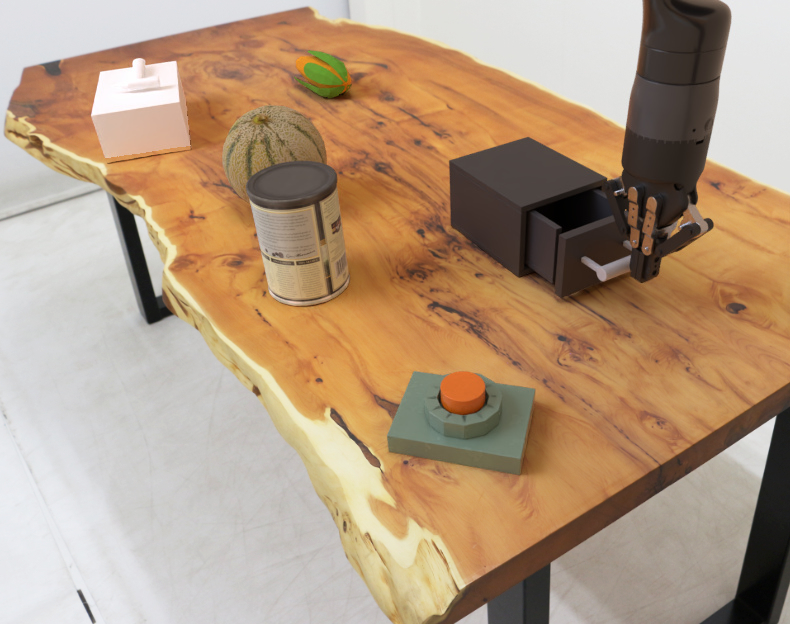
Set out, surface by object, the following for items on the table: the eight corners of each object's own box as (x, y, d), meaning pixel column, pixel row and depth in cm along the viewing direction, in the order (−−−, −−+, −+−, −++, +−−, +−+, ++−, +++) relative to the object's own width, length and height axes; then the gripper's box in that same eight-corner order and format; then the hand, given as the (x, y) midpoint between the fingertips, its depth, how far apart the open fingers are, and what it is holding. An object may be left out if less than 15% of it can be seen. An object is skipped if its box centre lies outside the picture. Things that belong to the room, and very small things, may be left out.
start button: (488, 388, 66) (489, 374, 65) (480, 418, 63) (480, 404, 62) (446, 382, 67) (446, 368, 66) (436, 411, 64) (435, 397, 63)
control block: (534, 405, 69) (536, 373, 66) (520, 476, 62) (521, 444, 59) (414, 386, 72) (412, 356, 69) (388, 452, 65) (384, 421, 63)
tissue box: (106, 163, 123) (86, 102, 116) (113, 114, 143) (96, 59, 136) (191, 149, 125) (176, 88, 119) (186, 103, 145) (173, 48, 139)
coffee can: (268, 266, 92) (247, 165, 84) (347, 256, 93) (334, 155, 85) (266, 312, 84) (243, 205, 76) (353, 301, 85) (339, 194, 76)
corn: (326, 66, 133) (278, 44, 147) (328, 106, 138) (281, 82, 151) (359, 60, 137) (309, 39, 150) (361, 99, 141) (312, 76, 155)
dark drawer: (664, 284, 81) (675, 225, 77) (586, 317, 78) (593, 256, 73) (559, 218, 95) (563, 164, 91) (488, 244, 91) (489, 189, 87)
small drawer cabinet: (599, 246, 91) (607, 177, 85) (518, 277, 86) (521, 207, 81) (525, 200, 102) (528, 136, 96) (450, 225, 98) (448, 160, 92)
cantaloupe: (319, 174, 114) (306, 81, 105) (343, 215, 102) (330, 113, 93) (227, 193, 110) (205, 98, 101) (241, 237, 99) (217, 134, 90)
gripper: (588, 109, 69) (573, 261, 79) (695, 156, 59) (662, 321, 69) (647, 92, 71) (625, 241, 82) (759, 134, 62) (718, 297, 72)
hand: (642, 278), depth 76 cm, fingers closed
